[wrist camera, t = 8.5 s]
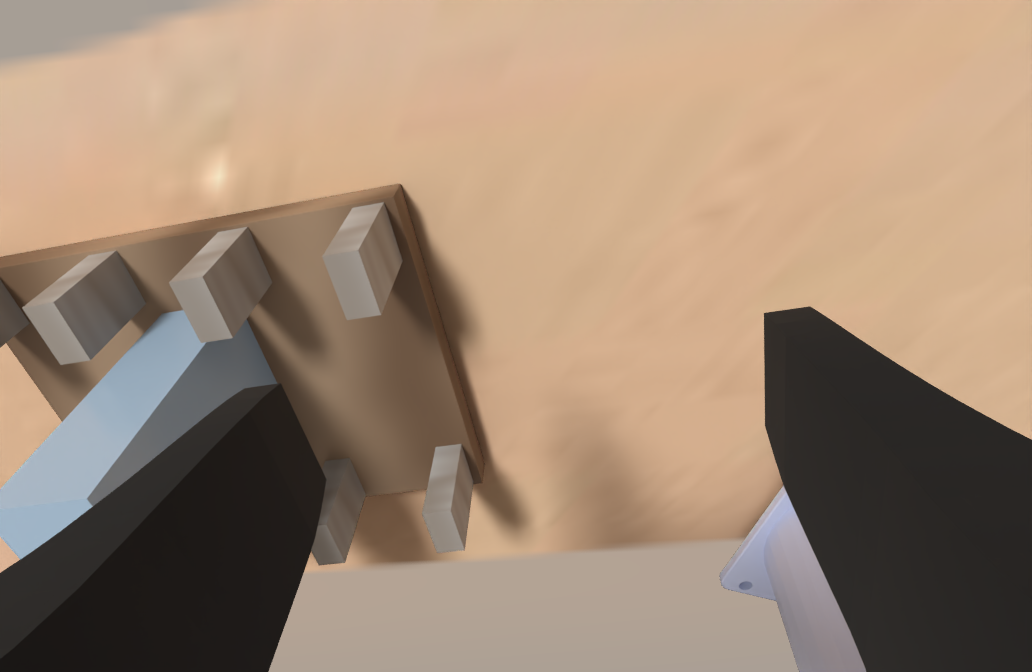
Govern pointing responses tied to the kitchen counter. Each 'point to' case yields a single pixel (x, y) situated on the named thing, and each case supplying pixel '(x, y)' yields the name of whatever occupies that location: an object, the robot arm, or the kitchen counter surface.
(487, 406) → the kitchen counter surface
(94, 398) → the slate-blue tile
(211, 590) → the robot arm
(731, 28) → the kitchen counter surface
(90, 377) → the walnut rack
